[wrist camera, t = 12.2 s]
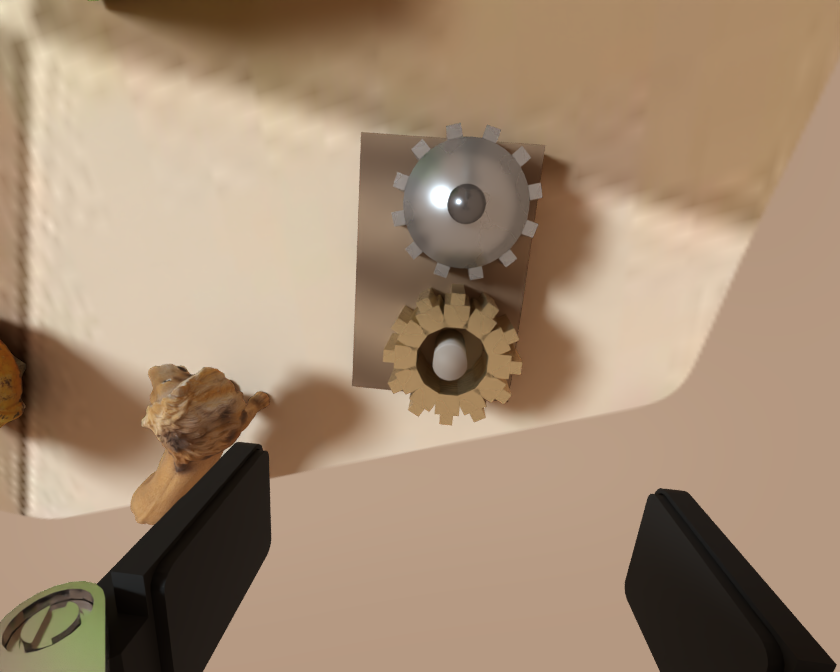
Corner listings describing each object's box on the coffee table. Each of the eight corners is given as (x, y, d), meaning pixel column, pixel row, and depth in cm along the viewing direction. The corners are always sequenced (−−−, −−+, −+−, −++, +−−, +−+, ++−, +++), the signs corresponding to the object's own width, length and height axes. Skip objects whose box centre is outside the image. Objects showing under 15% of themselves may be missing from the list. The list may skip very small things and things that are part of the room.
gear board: (368, 139, 25) (342, 113, 19) (537, 151, 24) (565, 128, 18) (358, 375, 29) (335, 413, 23) (504, 389, 28) (517, 432, 22)
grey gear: (386, 151, 23) (372, 136, 19) (522, 122, 22) (537, 99, 18) (412, 283, 25) (404, 295, 21) (537, 261, 24) (555, 268, 20)
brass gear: (395, 278, 25) (386, 287, 21) (520, 289, 24) (531, 299, 21) (389, 393, 27) (380, 418, 23) (504, 404, 26) (512, 431, 23)
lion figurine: (220, 323, 28) (119, 366, 20) (291, 356, 29) (221, 413, 20) (165, 487, 32) (61, 583, 24) (228, 515, 33) (147, 620, 24)
